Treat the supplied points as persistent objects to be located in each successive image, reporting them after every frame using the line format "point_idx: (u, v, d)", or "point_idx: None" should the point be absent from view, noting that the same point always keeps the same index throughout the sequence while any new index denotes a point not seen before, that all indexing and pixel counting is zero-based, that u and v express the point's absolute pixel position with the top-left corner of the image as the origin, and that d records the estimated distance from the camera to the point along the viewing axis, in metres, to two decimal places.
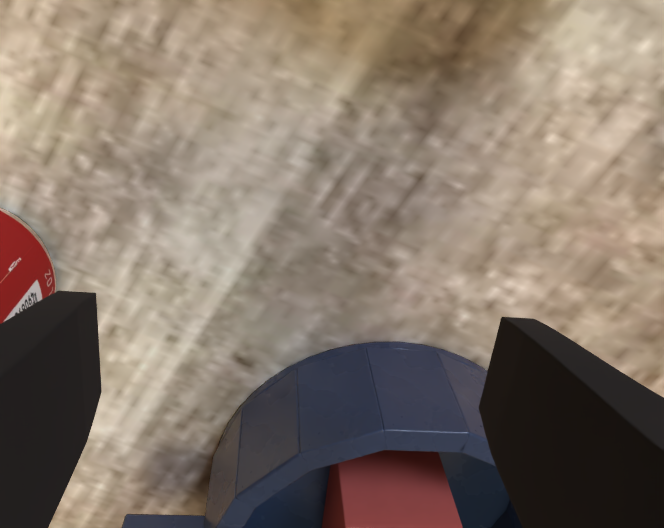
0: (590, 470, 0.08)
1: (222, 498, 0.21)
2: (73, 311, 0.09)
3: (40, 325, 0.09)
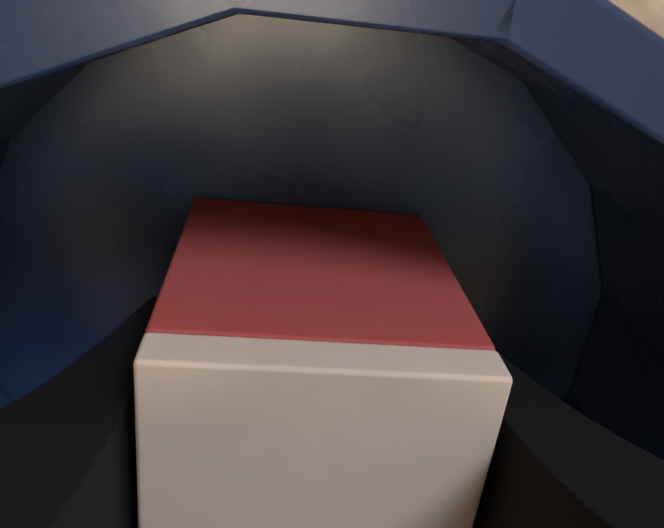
0: None
1: None
2: None
3: None
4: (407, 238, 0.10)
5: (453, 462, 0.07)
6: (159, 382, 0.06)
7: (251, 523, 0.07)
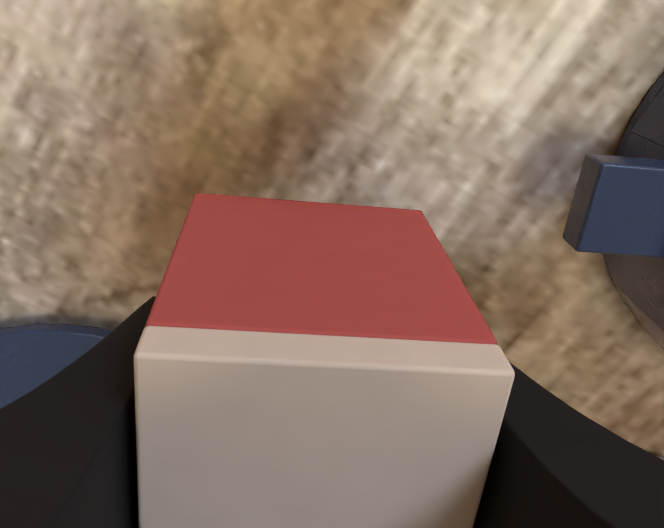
0: None
1: None
2: None
3: None
4: (408, 233, 0.10)
5: (455, 456, 0.07)
6: (159, 375, 0.06)
7: (252, 518, 0.07)
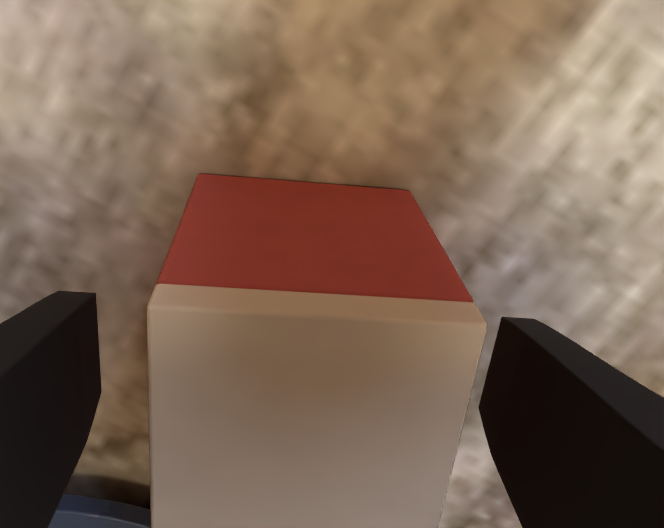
0: (590, 470, 0.08)
1: None
2: (73, 311, 0.09)
3: (40, 325, 0.09)
4: (396, 210, 0.11)
5: (434, 403, 0.08)
6: (169, 325, 0.07)
7: (252, 459, 0.08)
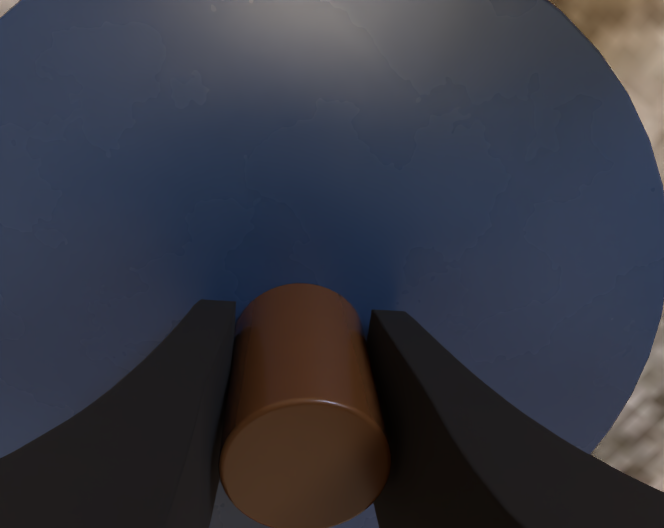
0: (417, 465, 0.08)
1: None
2: (231, 320, 0.10)
3: (210, 334, 0.09)
4: None
5: None
6: None
7: None
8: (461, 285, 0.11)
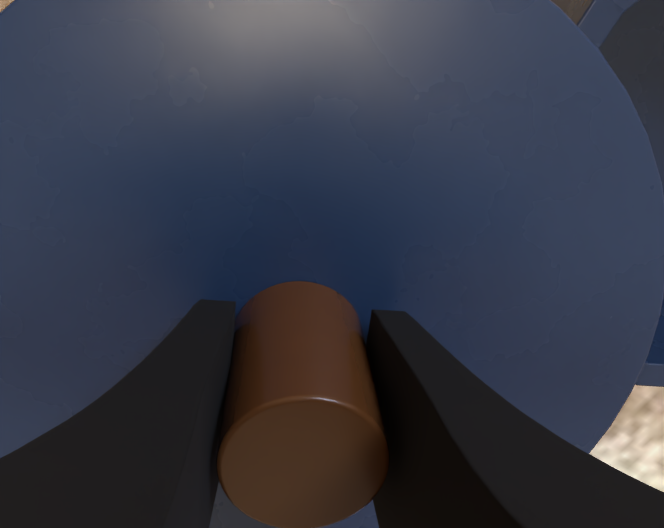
0: (417, 465, 0.08)
1: None
2: (230, 320, 0.10)
3: (209, 334, 0.09)
4: None
5: None
6: None
7: None
8: (460, 283, 0.11)
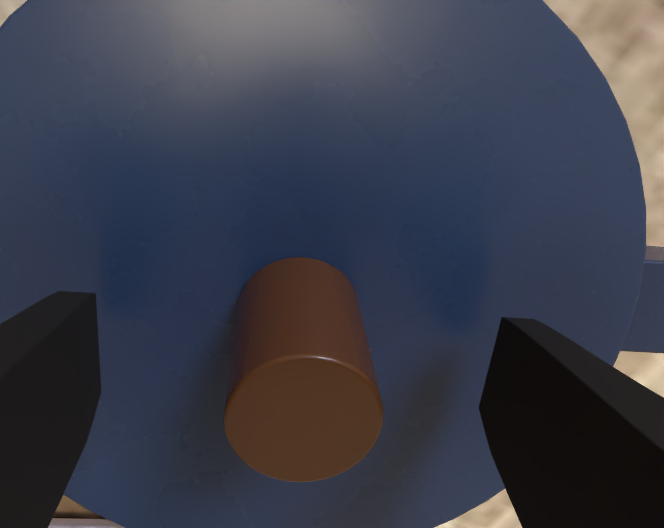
0: (590, 470, 0.08)
1: None
2: (73, 311, 0.09)
3: (40, 325, 0.09)
4: None
5: None
6: None
7: None
8: (451, 260, 0.12)
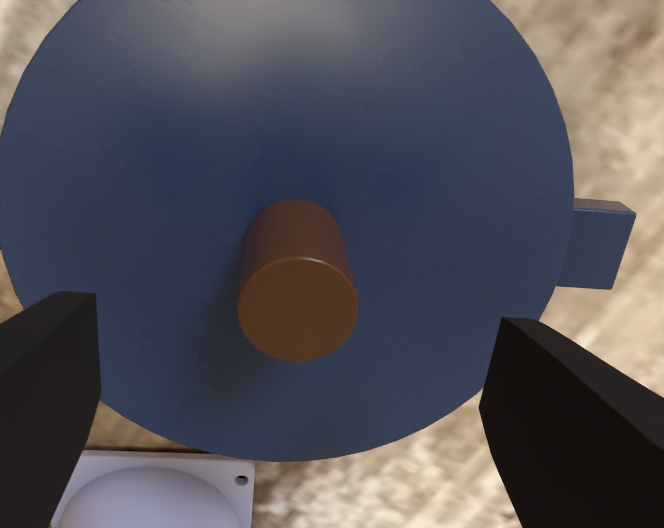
0: (590, 470, 0.08)
1: None
2: (73, 311, 0.09)
3: (40, 325, 0.09)
4: None
5: None
6: None
7: None
8: (417, 202, 0.15)
